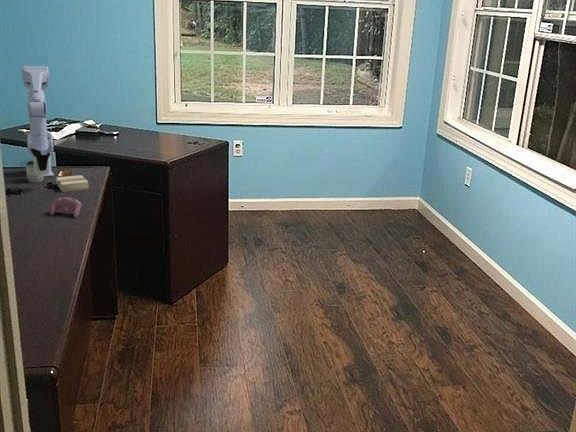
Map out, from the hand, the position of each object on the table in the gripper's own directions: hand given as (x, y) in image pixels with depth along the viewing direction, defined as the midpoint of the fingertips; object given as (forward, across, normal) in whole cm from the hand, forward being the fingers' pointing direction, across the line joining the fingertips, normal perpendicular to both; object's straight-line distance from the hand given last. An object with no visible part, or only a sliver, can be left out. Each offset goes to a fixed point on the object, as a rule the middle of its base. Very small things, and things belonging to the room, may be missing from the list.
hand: (41, 168), depth 232 cm
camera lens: (+8, -12, 0) cm, 15 cm away
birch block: (+8, +1, +11) cm, 14 cm away
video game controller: (+8, +31, +2) cm, 32 cm away
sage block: (+2, 0, 0) cm, 2 cm away
